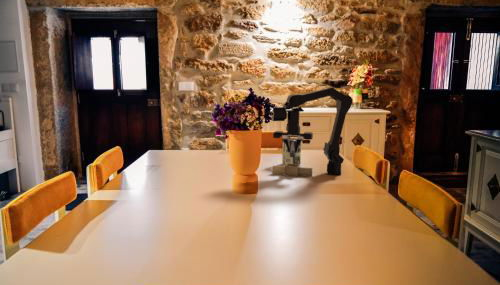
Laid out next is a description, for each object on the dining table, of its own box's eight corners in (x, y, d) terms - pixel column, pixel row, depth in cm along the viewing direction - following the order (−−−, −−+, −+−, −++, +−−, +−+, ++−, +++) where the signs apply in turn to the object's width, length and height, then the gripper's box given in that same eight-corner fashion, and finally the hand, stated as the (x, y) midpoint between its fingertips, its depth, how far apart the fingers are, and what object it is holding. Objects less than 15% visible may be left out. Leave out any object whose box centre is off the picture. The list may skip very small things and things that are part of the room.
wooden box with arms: (312, 174, 183) (313, 164, 182) (311, 178, 176) (311, 167, 176) (274, 171, 188) (274, 162, 187) (271, 175, 182) (271, 165, 181)
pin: (296, 156, 181) (296, 140, 180) (295, 157, 179) (295, 141, 177) (290, 155, 182) (290, 139, 181) (289, 157, 179) (289, 140, 178)
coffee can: (299, 162, 208) (300, 138, 205) (301, 167, 197) (302, 141, 195) (281, 162, 208) (281, 138, 205) (282, 167, 198) (282, 141, 195)
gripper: (314, 119, 182) (313, 150, 185) (277, 118, 187) (277, 148, 190) (312, 122, 172) (311, 154, 175) (273, 121, 177) (272, 152, 180)
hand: (292, 152), depth 180 cm, fingers closed on pin, 3 cm apart
